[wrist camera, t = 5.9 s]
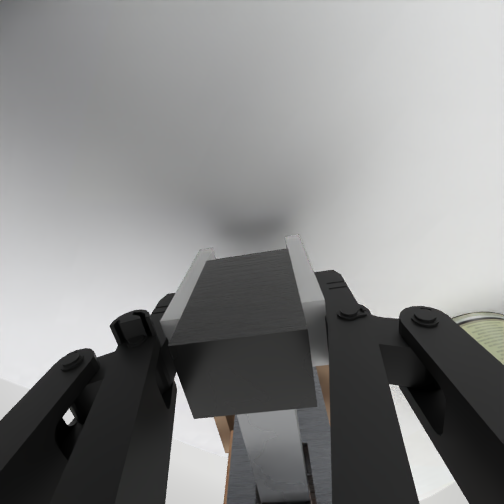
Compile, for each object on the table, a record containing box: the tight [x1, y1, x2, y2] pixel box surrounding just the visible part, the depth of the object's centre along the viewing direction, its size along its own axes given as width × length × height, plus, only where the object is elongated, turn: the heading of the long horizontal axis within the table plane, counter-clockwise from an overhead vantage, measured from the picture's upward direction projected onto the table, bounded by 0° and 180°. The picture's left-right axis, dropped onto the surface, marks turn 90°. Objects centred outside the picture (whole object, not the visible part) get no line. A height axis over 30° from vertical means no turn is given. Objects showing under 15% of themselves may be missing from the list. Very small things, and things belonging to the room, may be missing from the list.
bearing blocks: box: [226, 366, 332, 504], centre depth 19 cm, size 12×6×14 cm, turn 10°
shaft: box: [167, 248, 317, 504], centre depth 14 cm, size 20×4×6 cm, turn 10°
